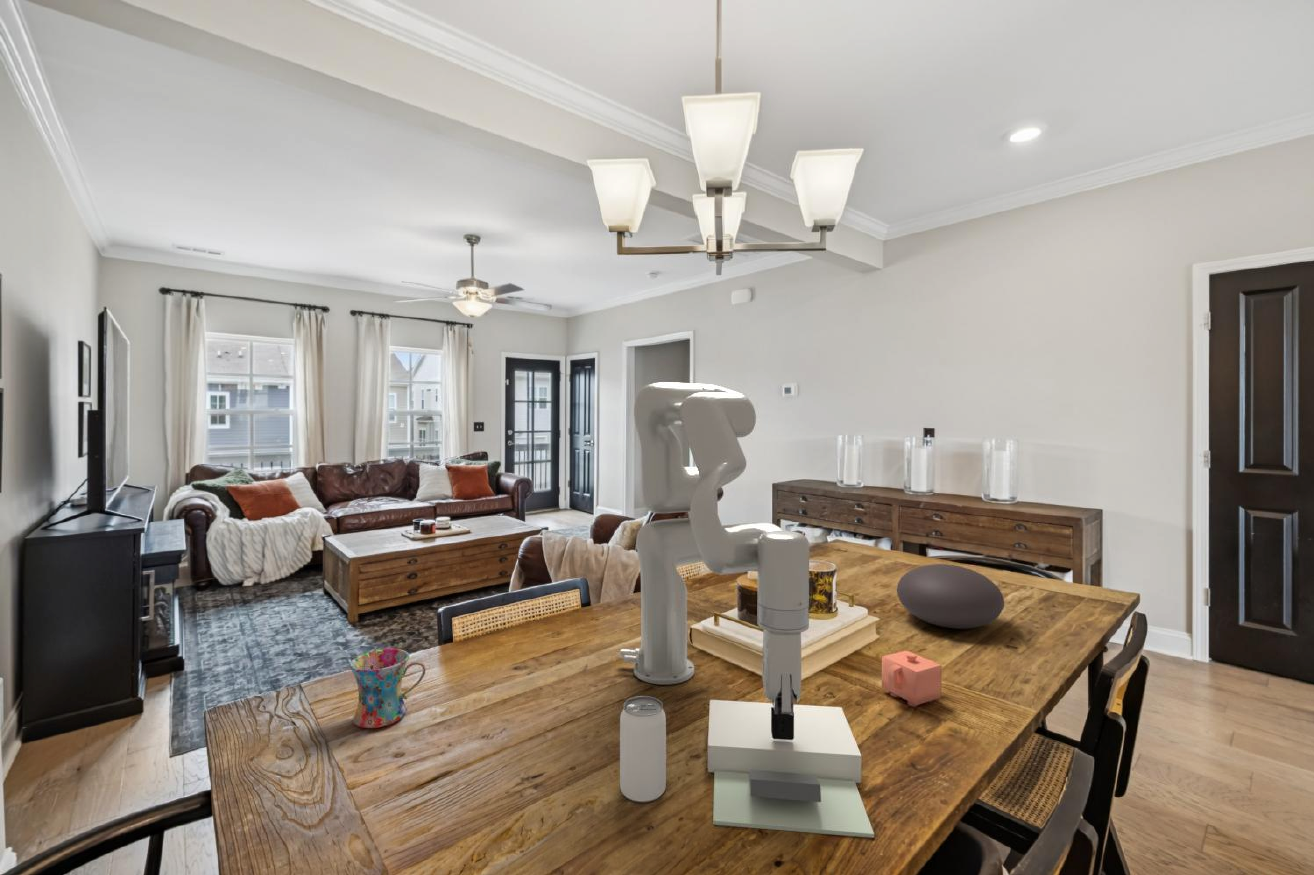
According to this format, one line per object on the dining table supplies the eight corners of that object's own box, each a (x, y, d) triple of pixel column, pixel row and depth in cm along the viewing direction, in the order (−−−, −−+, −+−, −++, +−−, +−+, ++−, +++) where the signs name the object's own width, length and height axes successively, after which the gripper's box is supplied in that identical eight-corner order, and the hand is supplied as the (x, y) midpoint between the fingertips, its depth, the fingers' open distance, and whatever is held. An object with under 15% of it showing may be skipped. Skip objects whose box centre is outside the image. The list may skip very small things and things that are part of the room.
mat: (713, 824, 73) (713, 820, 73) (714, 774, 84) (714, 771, 84) (874, 837, 71) (874, 833, 71) (854, 784, 81) (854, 781, 81)
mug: (345, 737, 93) (344, 673, 93) (356, 710, 102) (355, 652, 102) (424, 725, 97) (423, 664, 97) (427, 700, 106) (427, 644, 106)
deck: (707, 771, 84) (707, 745, 84) (710, 722, 98) (710, 699, 98) (861, 783, 82) (861, 755, 82) (841, 730, 96) (841, 707, 95)
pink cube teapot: (952, 699, 107) (953, 655, 107) (908, 713, 101) (908, 667, 101) (917, 682, 114) (917, 641, 114) (873, 694, 108) (874, 652, 108)
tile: (748, 769, 81) (749, 785, 80) (750, 778, 75) (750, 796, 75) (813, 774, 80) (814, 790, 79) (820, 784, 74) (821, 802, 74)
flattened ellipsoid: (1004, 618, 151) (1005, 562, 150) (1002, 650, 130) (1003, 585, 129) (904, 602, 164) (905, 551, 164) (888, 629, 143) (888, 570, 142)
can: (619, 776, 83) (619, 695, 83) (663, 773, 84) (663, 693, 84) (620, 805, 77) (620, 718, 77) (668, 802, 77) (668, 716, 77)
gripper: (754, 599, 93) (754, 710, 93) (760, 632, 78) (760, 764, 78) (801, 600, 92) (800, 712, 92) (817, 634, 77) (816, 768, 77)
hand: (782, 736), depth 85 cm, fingers closed
